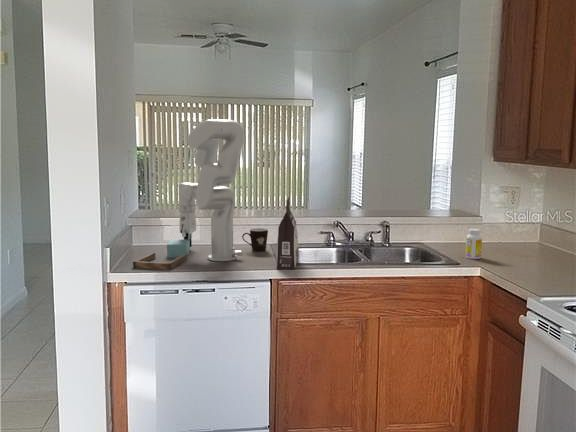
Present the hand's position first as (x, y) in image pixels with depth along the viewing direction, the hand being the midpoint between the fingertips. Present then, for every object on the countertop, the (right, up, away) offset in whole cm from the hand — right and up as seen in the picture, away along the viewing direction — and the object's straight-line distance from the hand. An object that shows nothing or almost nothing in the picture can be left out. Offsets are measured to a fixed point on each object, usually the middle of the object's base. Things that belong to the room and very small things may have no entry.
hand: (187, 247), depth 249 cm
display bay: (-6, -5, -29) cm, 30 cm away
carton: (-2, -3, -11) cm, 11 cm away
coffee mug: (+32, -2, -1) cm, 32 cm away
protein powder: (+47, -6, -29) cm, 56 cm away
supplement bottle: (+131, -4, -14) cm, 131 cm away
